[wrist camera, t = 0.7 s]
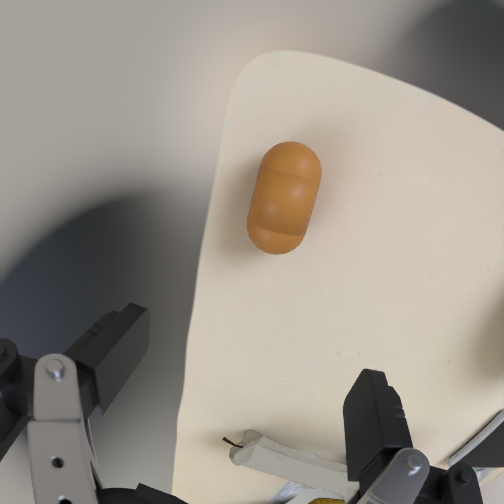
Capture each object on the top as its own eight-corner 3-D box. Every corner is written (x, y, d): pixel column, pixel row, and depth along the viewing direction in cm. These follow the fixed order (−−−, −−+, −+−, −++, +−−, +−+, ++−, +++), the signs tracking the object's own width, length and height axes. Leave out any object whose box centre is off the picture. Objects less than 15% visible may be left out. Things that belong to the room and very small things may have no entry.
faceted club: (364, 484, 34) (215, 441, 35) (396, 447, 33) (240, 398, 35) (375, 521, 25) (202, 483, 26) (414, 484, 24) (230, 439, 26)
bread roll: (270, 136, 22) (264, 133, 18) (325, 151, 22) (331, 150, 18) (246, 236, 25) (236, 253, 21) (297, 250, 25) (297, 270, 21)
